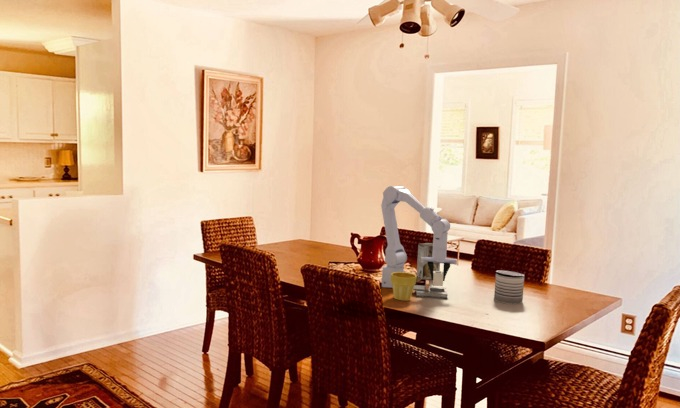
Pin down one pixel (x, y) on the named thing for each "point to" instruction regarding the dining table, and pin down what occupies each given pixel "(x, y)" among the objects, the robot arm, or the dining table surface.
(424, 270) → the coffee box
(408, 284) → the plant pot
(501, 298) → the can
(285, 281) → the dining table surface
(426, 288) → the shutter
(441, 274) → the plug
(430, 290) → the socket plate
